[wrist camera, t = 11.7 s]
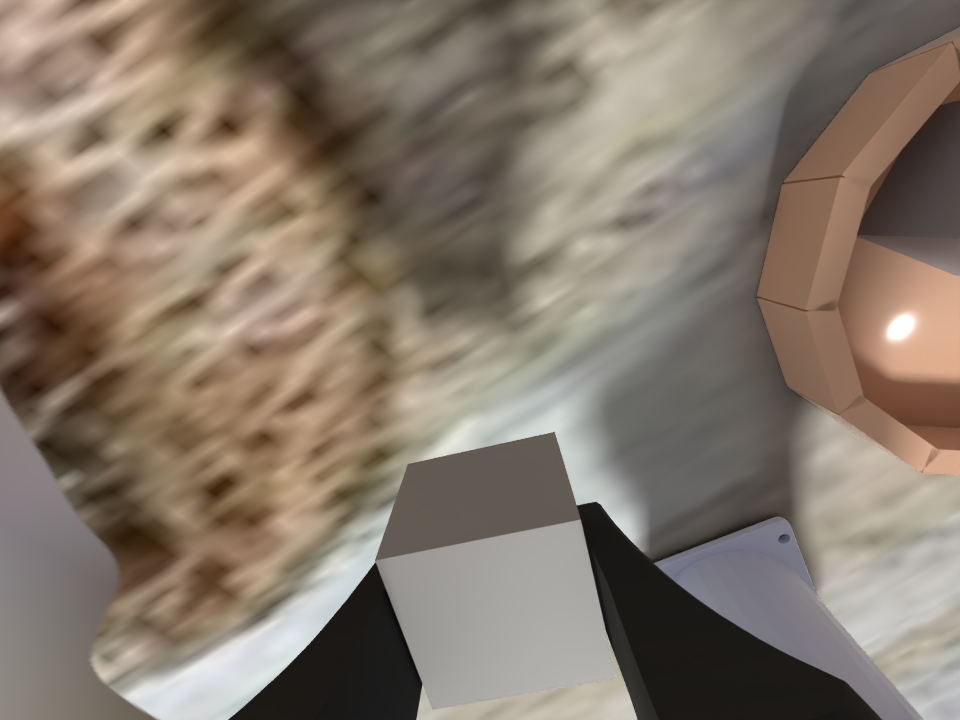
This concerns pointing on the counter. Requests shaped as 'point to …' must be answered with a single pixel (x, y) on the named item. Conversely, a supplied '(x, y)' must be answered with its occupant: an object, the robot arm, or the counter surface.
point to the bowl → (868, 276)
